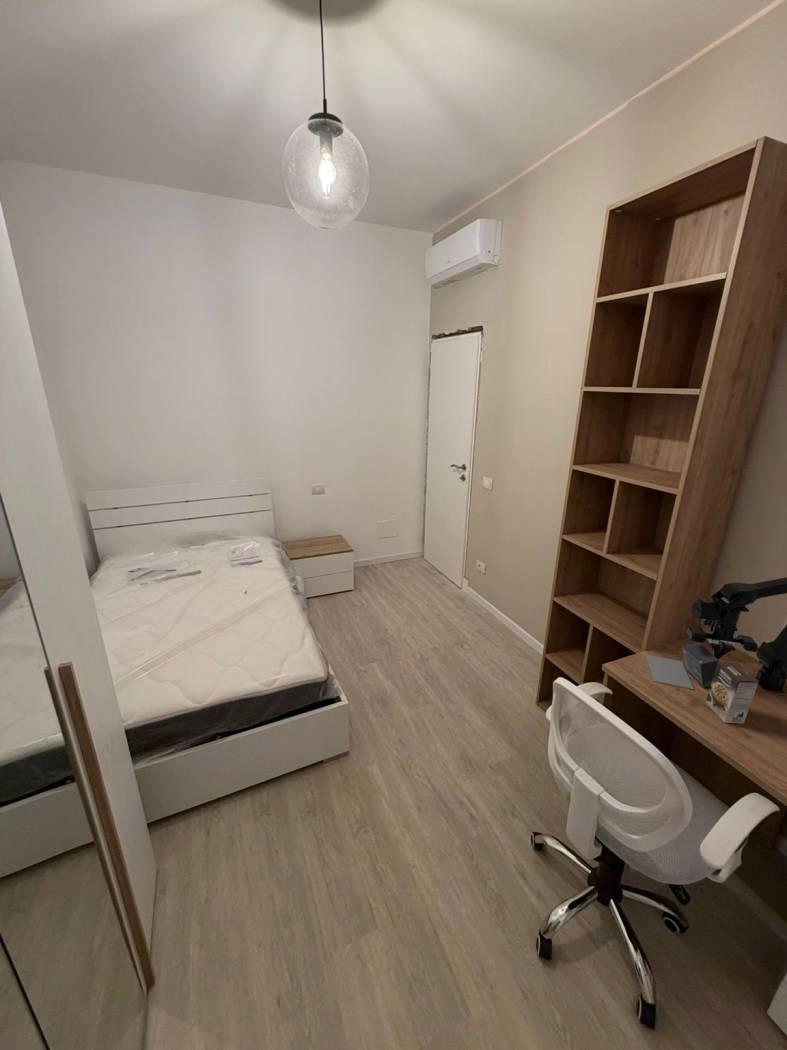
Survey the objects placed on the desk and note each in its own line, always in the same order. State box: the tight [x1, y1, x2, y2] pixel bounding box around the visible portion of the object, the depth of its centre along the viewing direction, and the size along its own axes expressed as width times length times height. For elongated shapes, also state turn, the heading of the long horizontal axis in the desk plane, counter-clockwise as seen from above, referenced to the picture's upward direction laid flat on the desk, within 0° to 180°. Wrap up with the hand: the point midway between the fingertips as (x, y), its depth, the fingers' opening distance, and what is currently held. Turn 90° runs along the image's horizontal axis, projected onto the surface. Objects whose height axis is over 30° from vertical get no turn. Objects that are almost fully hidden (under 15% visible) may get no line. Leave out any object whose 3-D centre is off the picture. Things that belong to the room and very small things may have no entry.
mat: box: [645, 654, 695, 691], centre depth 153 cm, size 12×16×1 cm
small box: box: [681, 642, 720, 688], centre depth 148 cm, size 11×6×10 cm, turn 178°
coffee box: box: [705, 661, 759, 724], centre depth 132 cm, size 9×6×16 cm
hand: (714, 659), depth 146 cm, fingers closed
